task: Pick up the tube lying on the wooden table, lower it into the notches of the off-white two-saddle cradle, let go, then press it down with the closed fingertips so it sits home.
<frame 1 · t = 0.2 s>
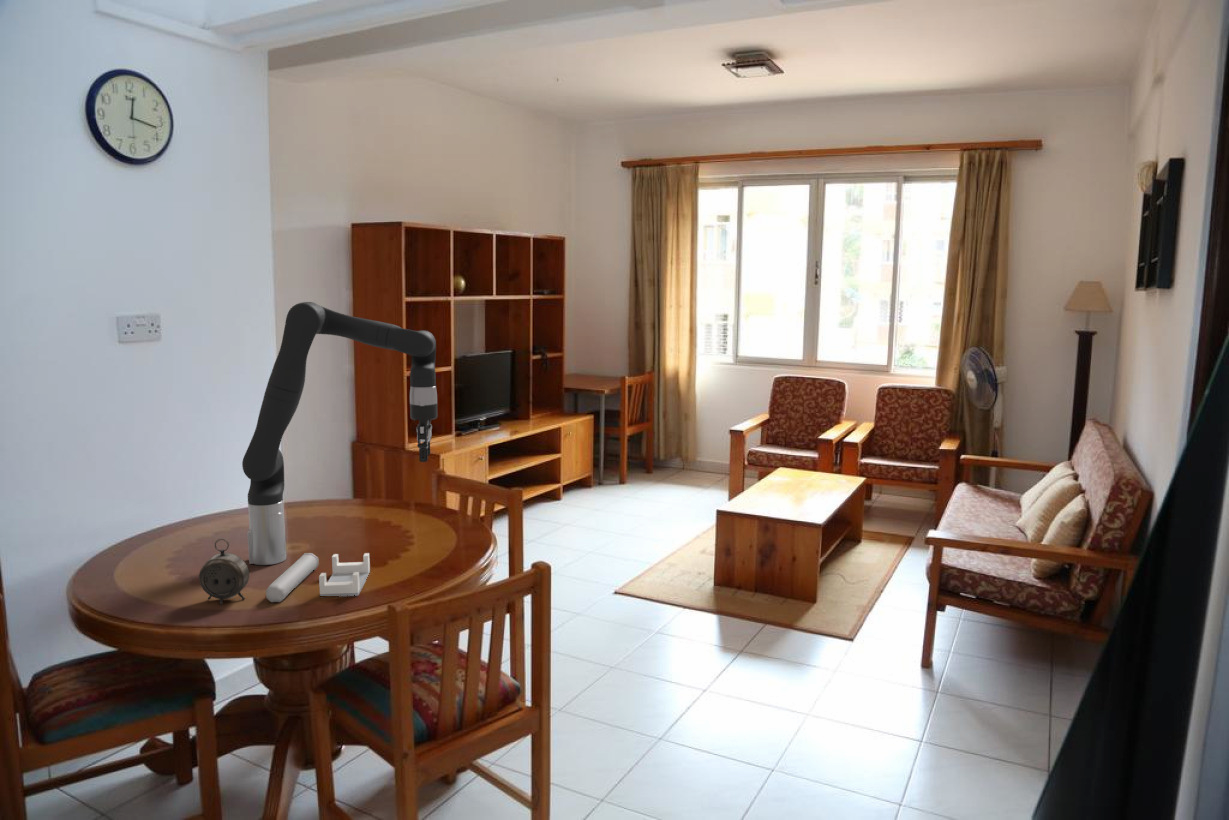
hand: (425, 458, 247), 29 cm above the table, tool pointing down, fingers open, 8 cm apart
cradle: (346, 584, 229), on the table
alarm clock: (225, 602, 216), on the table
tube: (292, 587, 227), on the table
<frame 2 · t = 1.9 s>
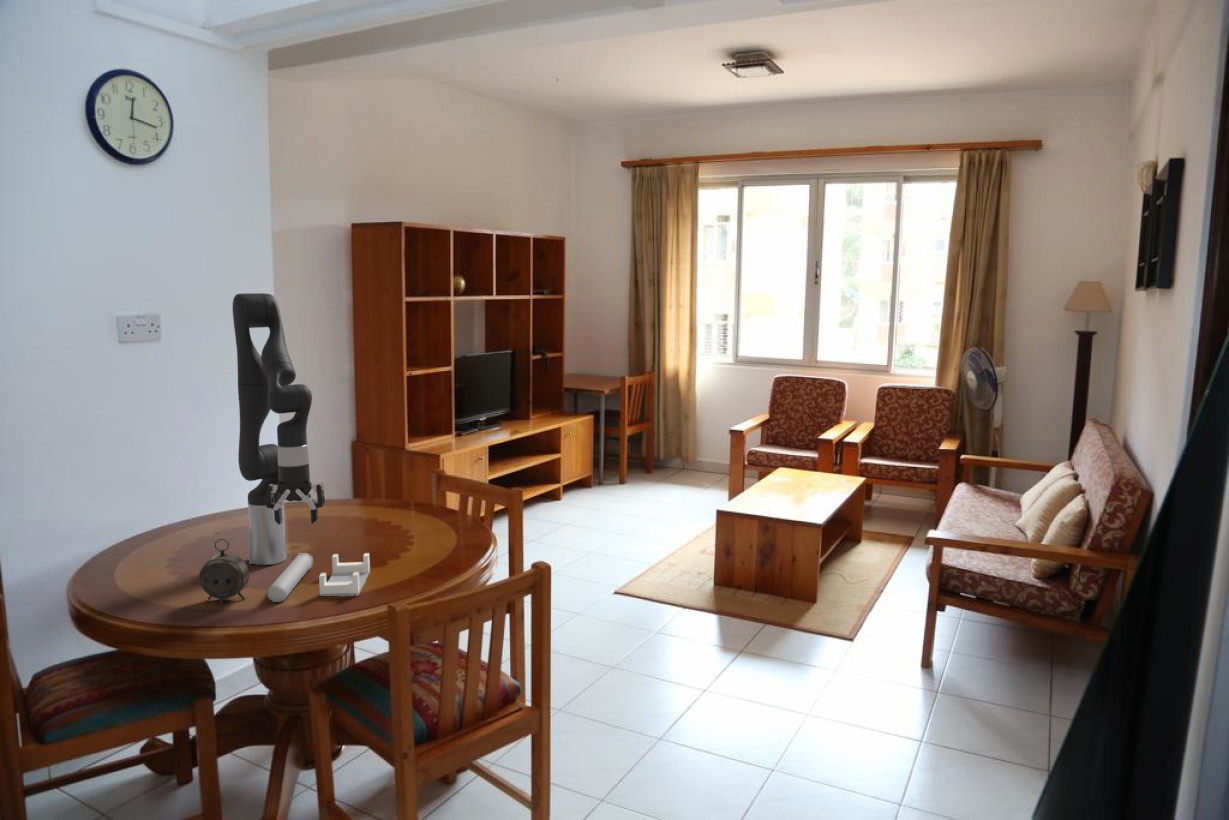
hand: (296, 523, 226), 17 cm above the table, tool pointing down, fingers open, 8 cm apart
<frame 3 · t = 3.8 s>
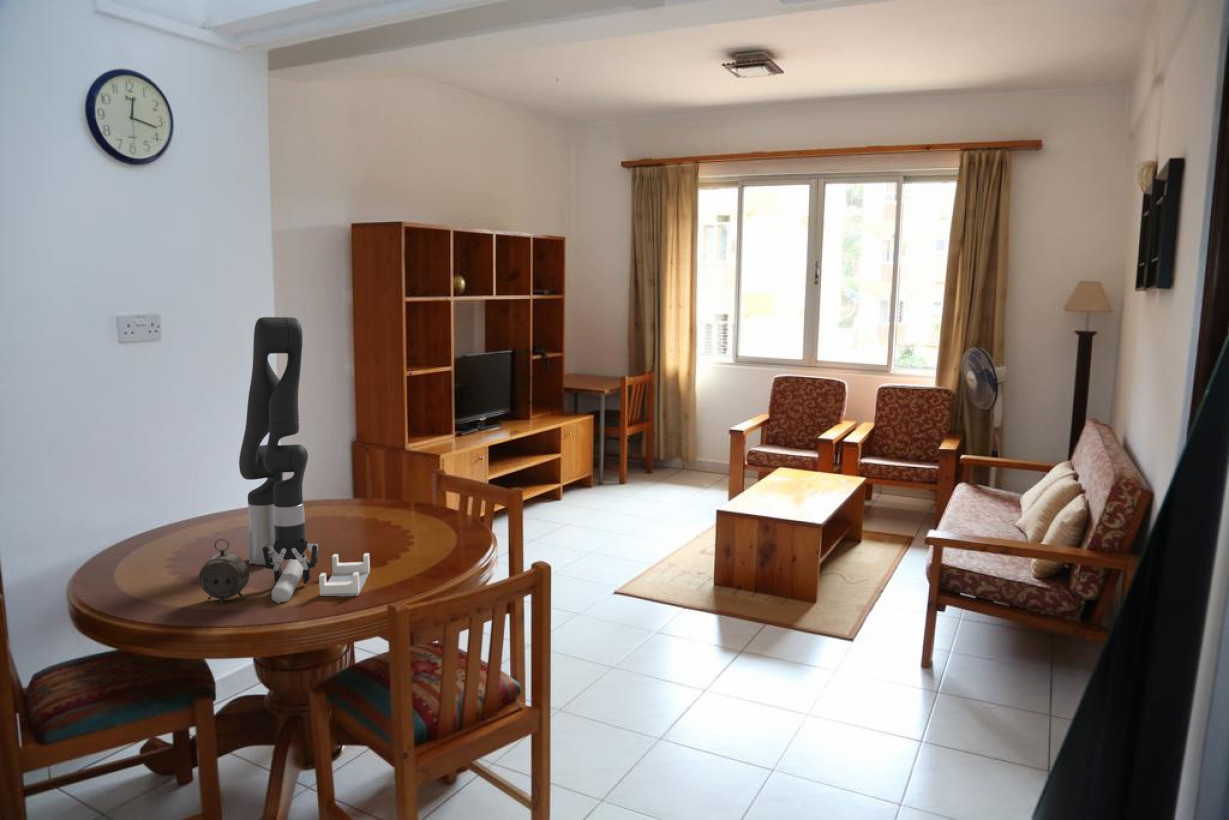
hand: (292, 582, 227), 1 cm above the table, tool pointing down, fingers open, 6 cm apart
tube: (290, 588, 227), on the table, touching gripper
everything else where it was.
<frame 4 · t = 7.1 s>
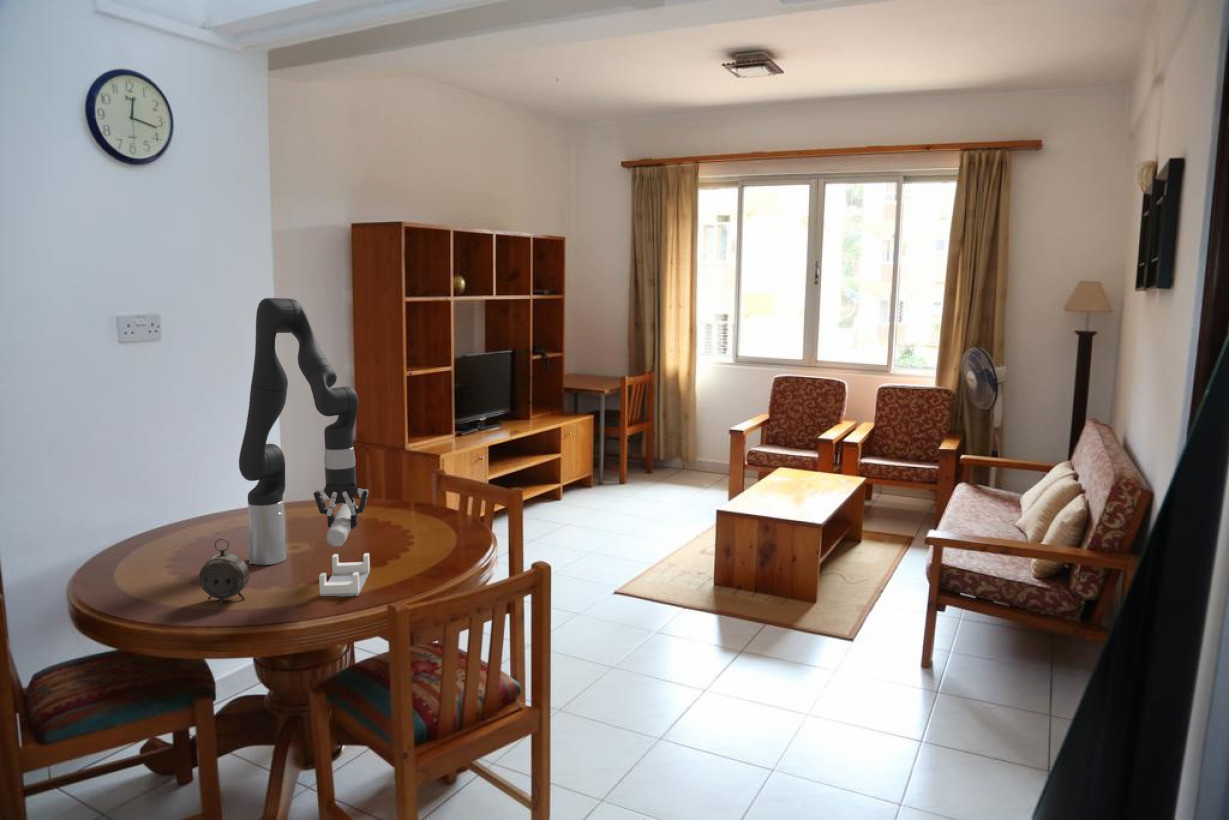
hand: (343, 528, 226), 15 cm above the table, tool pointing down, fingers closed on tube, 4 cm apart
tube: (343, 534, 227), point 14 cm above the table, touching gripper
everything else where it was.
when the fingers open (5 cm above the table, at t = 9.4 s): tube stays where it is, resting on cradle.
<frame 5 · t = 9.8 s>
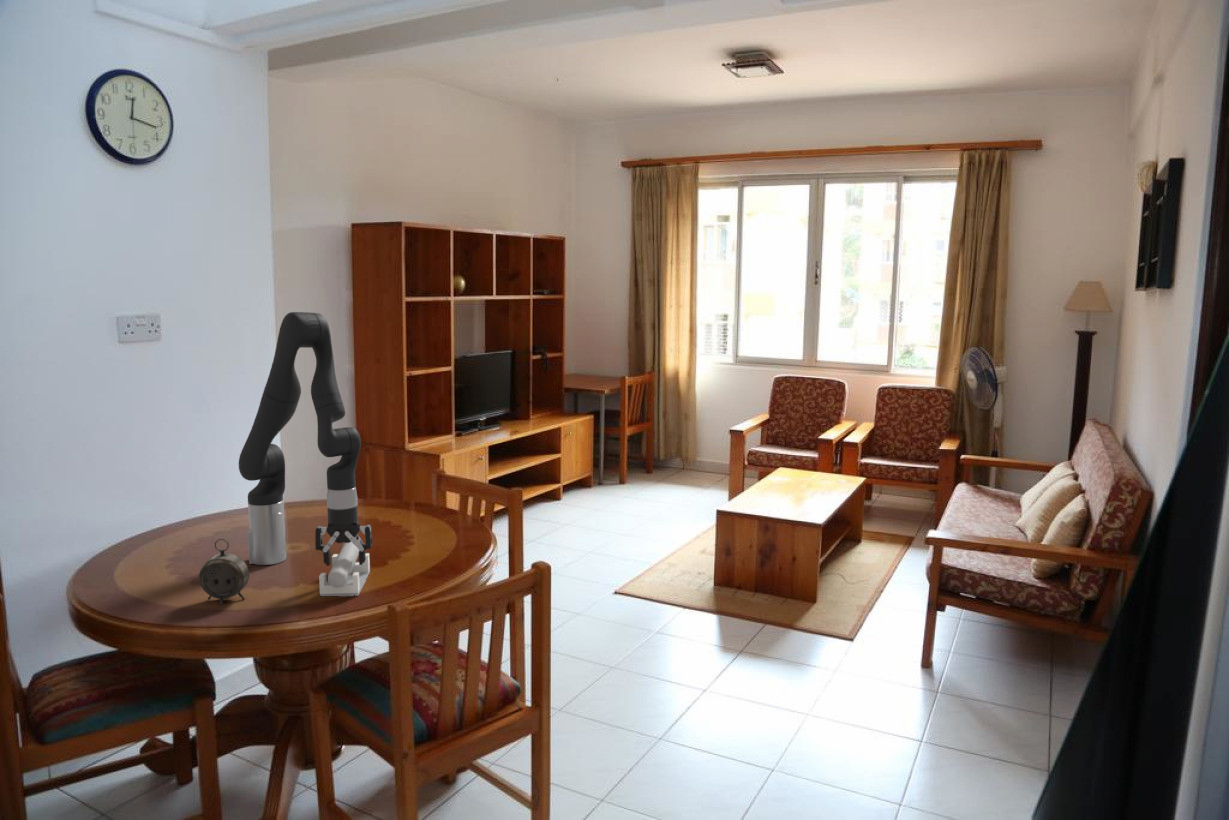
hand: (345, 564, 228), 5 cm above the table, tool pointing down, fingers open, 8 cm apart
tube: (345, 573, 229), point 3 cm above the table, touching cradle
everything else where it was.
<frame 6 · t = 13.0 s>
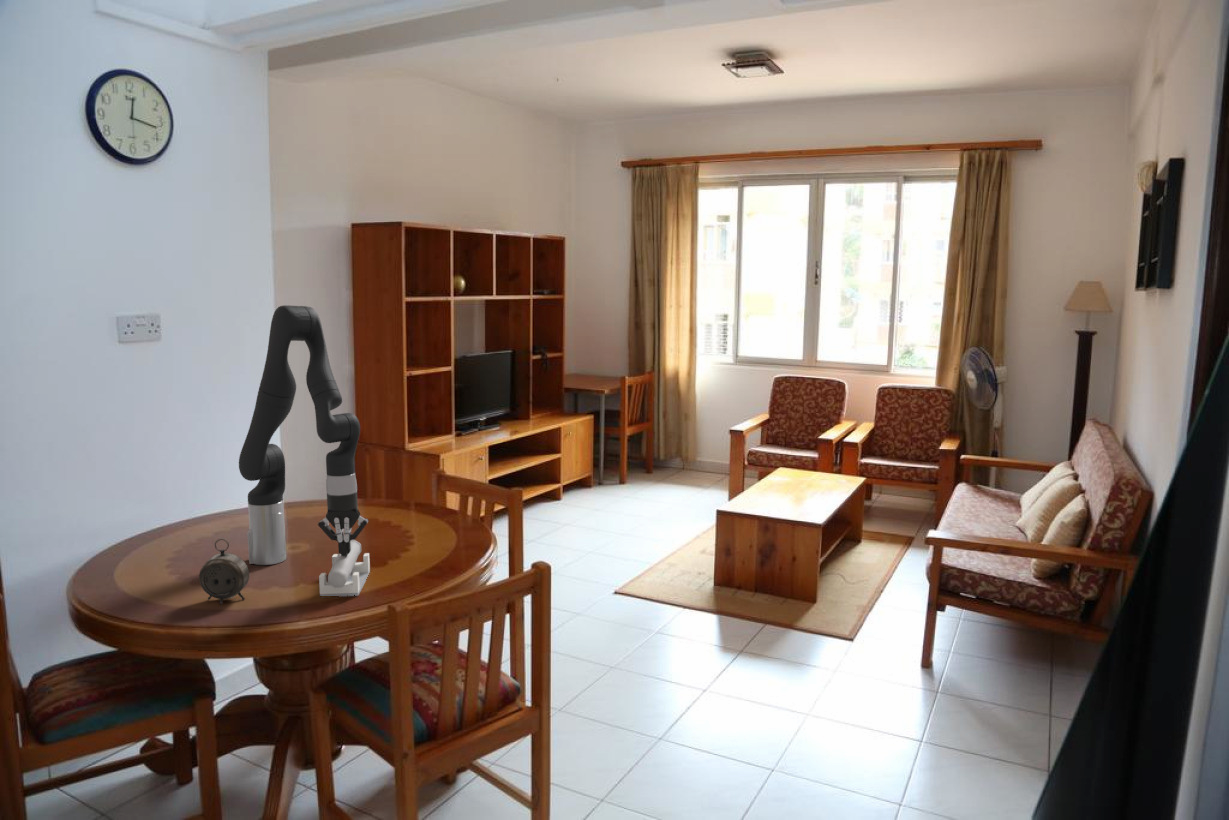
hand: (345, 554, 227), 8 cm above the table, tool pointing down, fingers closed
tube: (345, 573, 229), point 3 cm above the table, touching cradle, gripper
everything else where it was.
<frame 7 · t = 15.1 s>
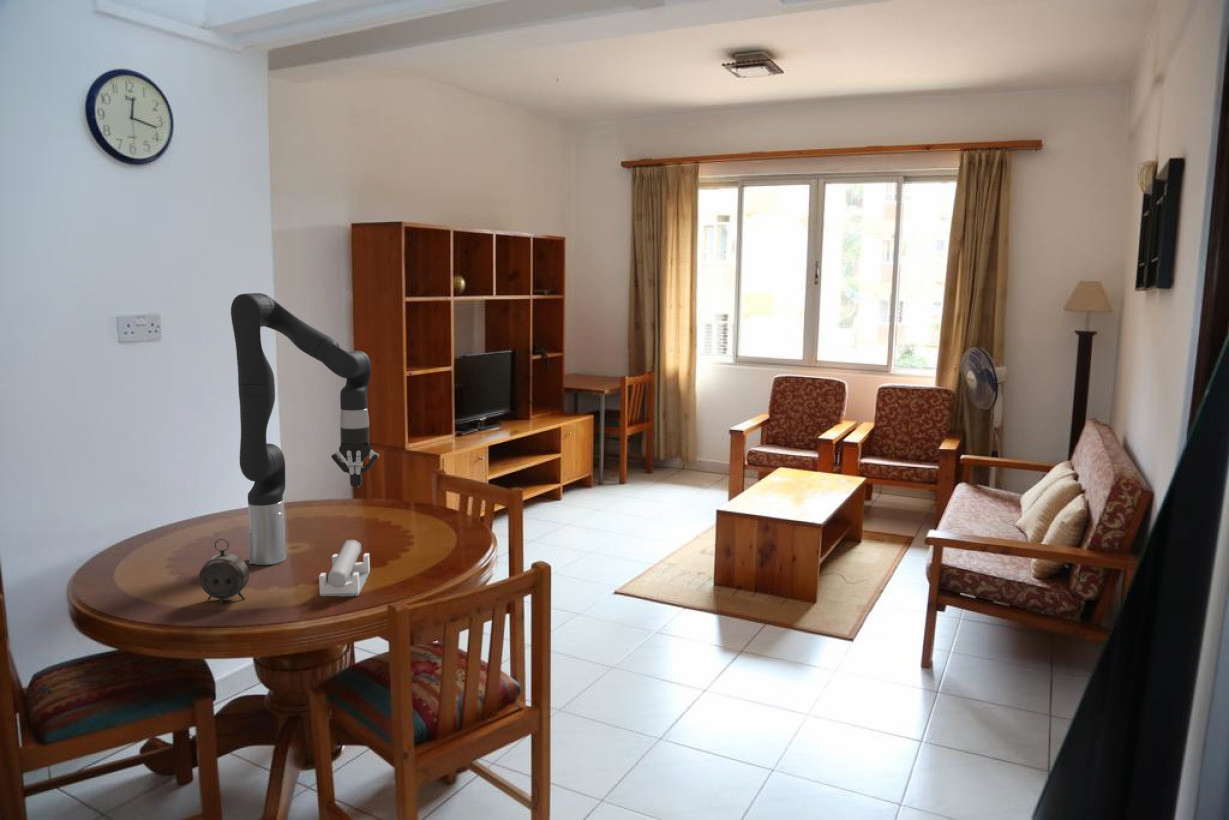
hand: (356, 487, 238), 23 cm above the table, tool pointing down, fingers closed
tube: (345, 573, 229), point 3 cm above the table, touching cradle
everything else where it was.
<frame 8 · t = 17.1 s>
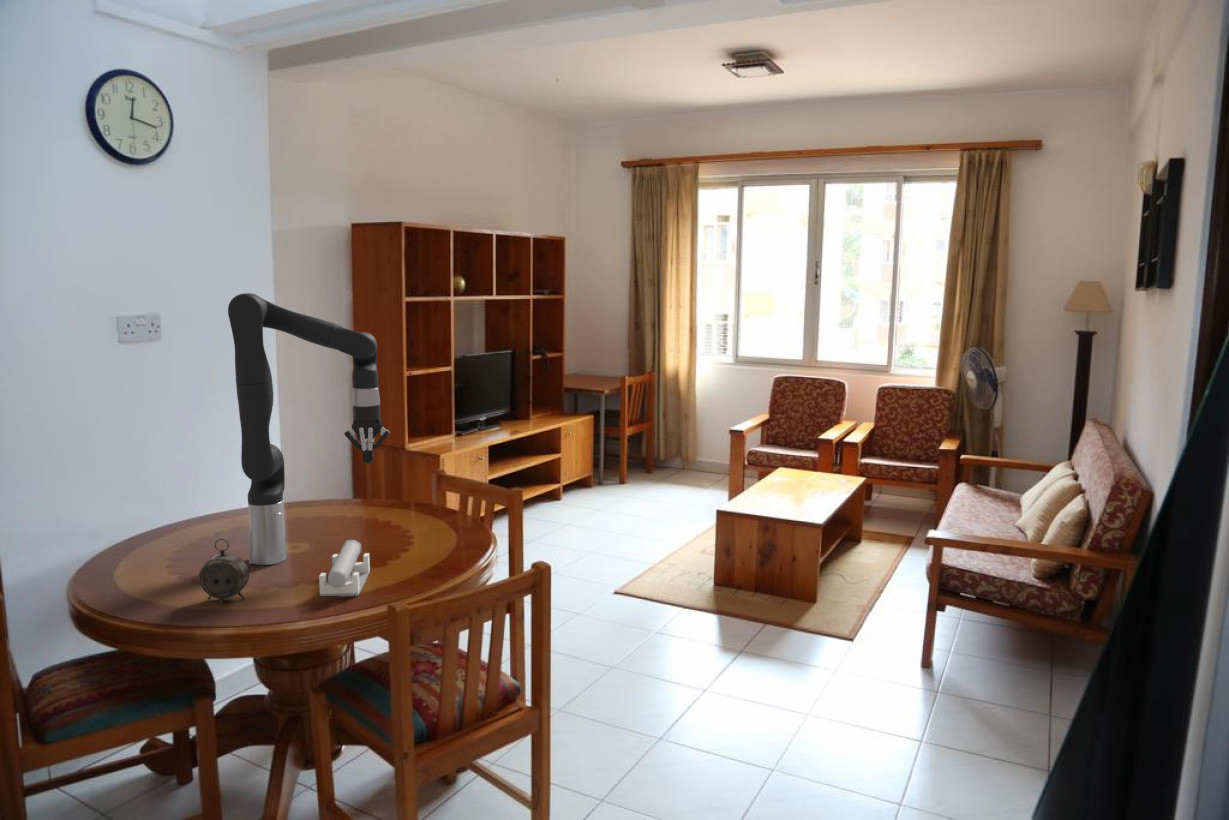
hand: (368, 462, 250), 27 cm above the table, tool pointing down, fingers closed
nothing on the table moved.
at the end: tube 0.5 cm from the cradle (horizontally); tube touching cradle; the gripper is holding nothing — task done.
